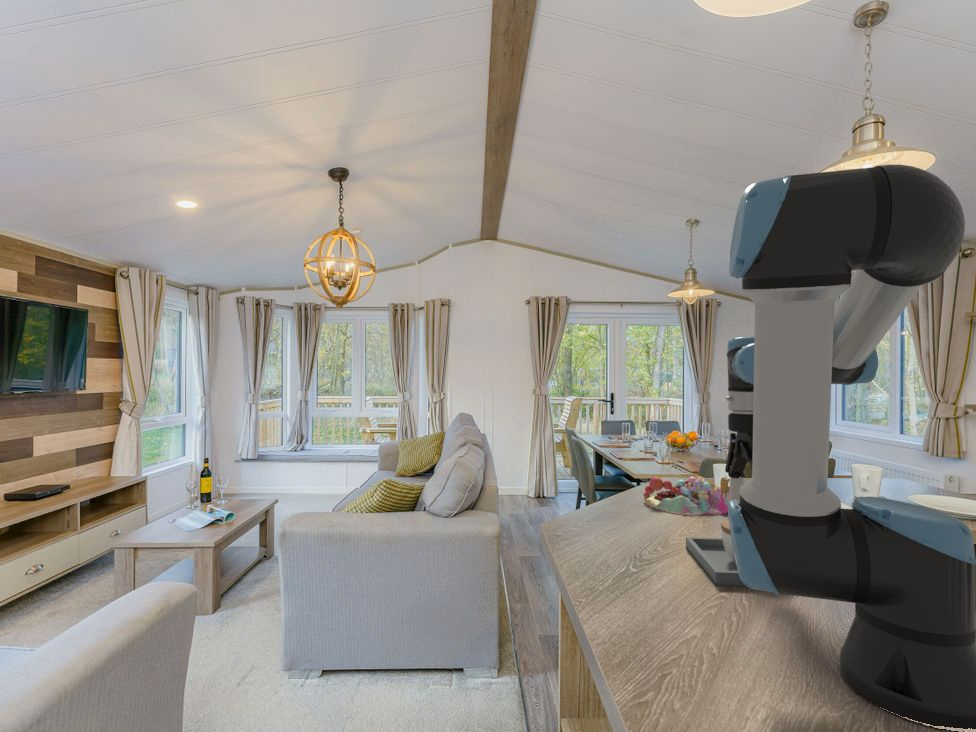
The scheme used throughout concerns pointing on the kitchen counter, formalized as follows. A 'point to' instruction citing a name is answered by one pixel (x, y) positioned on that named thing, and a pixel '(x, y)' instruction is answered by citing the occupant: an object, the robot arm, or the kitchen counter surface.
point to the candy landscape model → (689, 496)
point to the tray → (714, 560)
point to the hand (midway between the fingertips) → (749, 516)
